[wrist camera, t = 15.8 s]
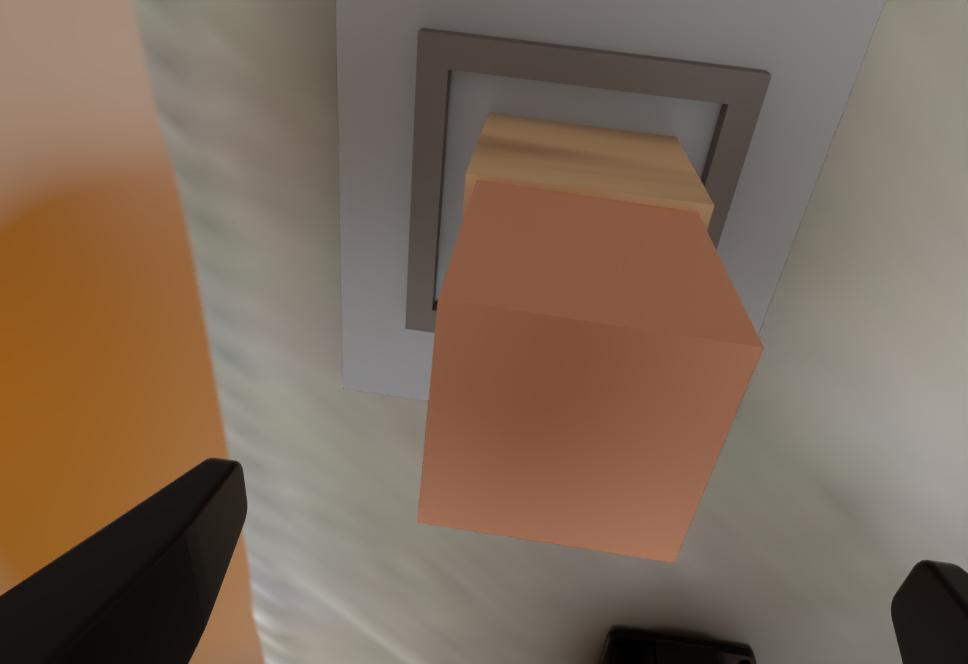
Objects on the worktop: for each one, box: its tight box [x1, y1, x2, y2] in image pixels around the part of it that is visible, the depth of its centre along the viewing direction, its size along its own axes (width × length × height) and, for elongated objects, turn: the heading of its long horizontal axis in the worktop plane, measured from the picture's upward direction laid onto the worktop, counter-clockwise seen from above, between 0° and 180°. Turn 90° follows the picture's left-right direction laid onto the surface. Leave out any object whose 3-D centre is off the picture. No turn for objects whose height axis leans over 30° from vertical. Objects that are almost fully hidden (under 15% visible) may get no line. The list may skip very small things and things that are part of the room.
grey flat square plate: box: [336, 0, 886, 401], centre depth 19 cm, size 15×13×1 cm
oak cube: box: [461, 113, 714, 230], centre depth 17 cm, size 5×5×5 cm
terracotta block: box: [417, 180, 763, 563], centre depth 12 cm, size 4×4×5 cm
